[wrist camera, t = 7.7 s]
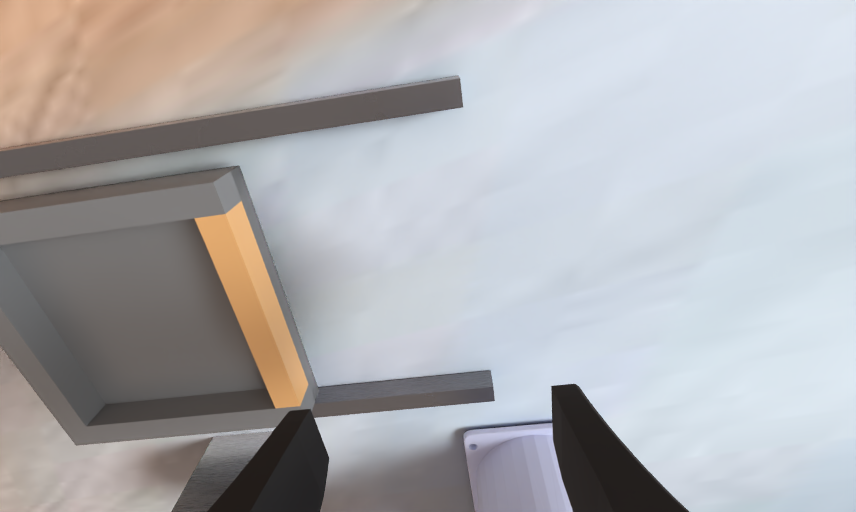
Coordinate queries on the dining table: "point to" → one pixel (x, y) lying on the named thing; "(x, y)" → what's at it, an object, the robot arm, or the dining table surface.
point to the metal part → (218, 470)
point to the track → (271, 124)
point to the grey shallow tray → (150, 309)
